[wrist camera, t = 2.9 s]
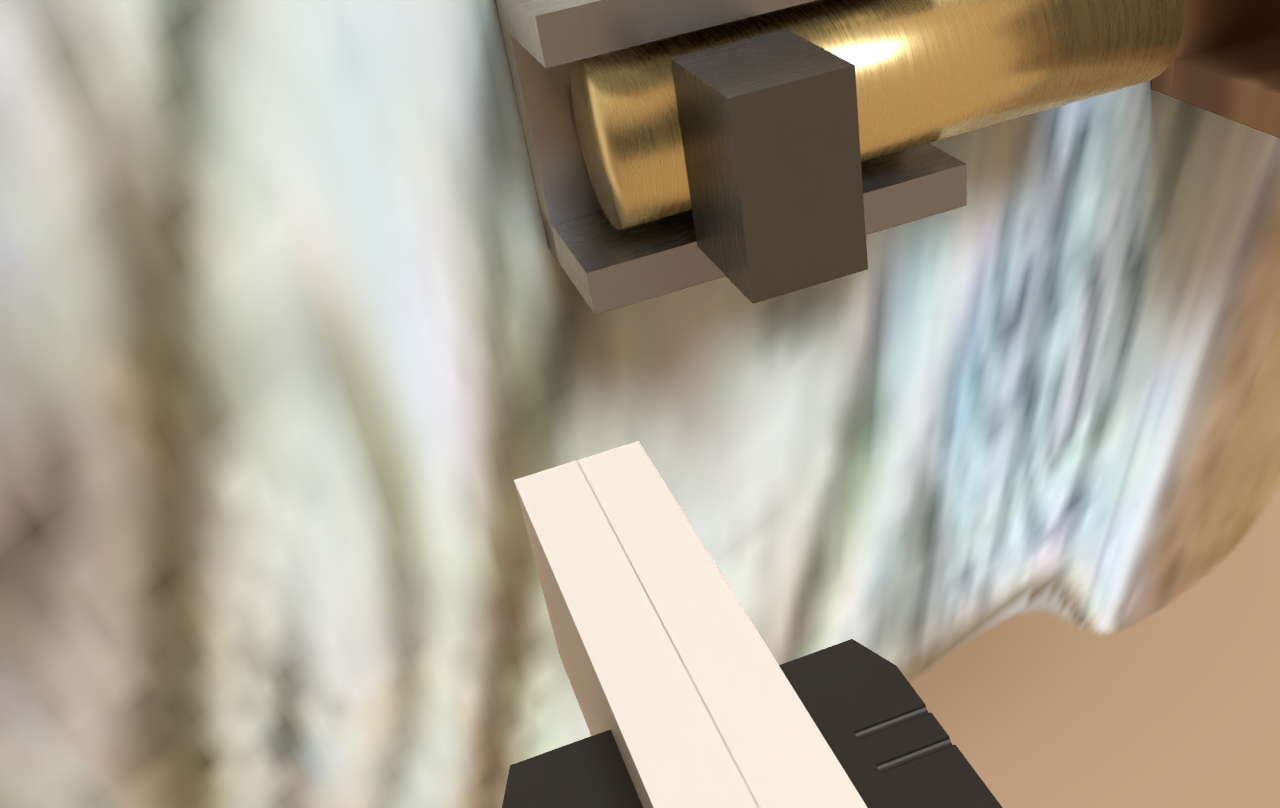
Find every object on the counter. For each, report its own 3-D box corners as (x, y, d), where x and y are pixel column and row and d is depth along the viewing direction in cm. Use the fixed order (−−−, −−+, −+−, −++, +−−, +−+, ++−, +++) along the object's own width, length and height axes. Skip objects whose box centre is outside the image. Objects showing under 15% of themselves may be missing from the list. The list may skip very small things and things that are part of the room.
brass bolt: (590, 205, 28) (688, 322, 23) (557, 33, 26) (657, 117, 21) (1080, 70, 31) (1274, 146, 25) (1086, -97, 29) (1299, -54, 23)
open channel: (548, 247, 30) (594, 314, 26) (490, -22, 26) (534, 16, 23) (883, 153, 31) (966, 205, 28) (869, -111, 28) (962, -88, 25)
